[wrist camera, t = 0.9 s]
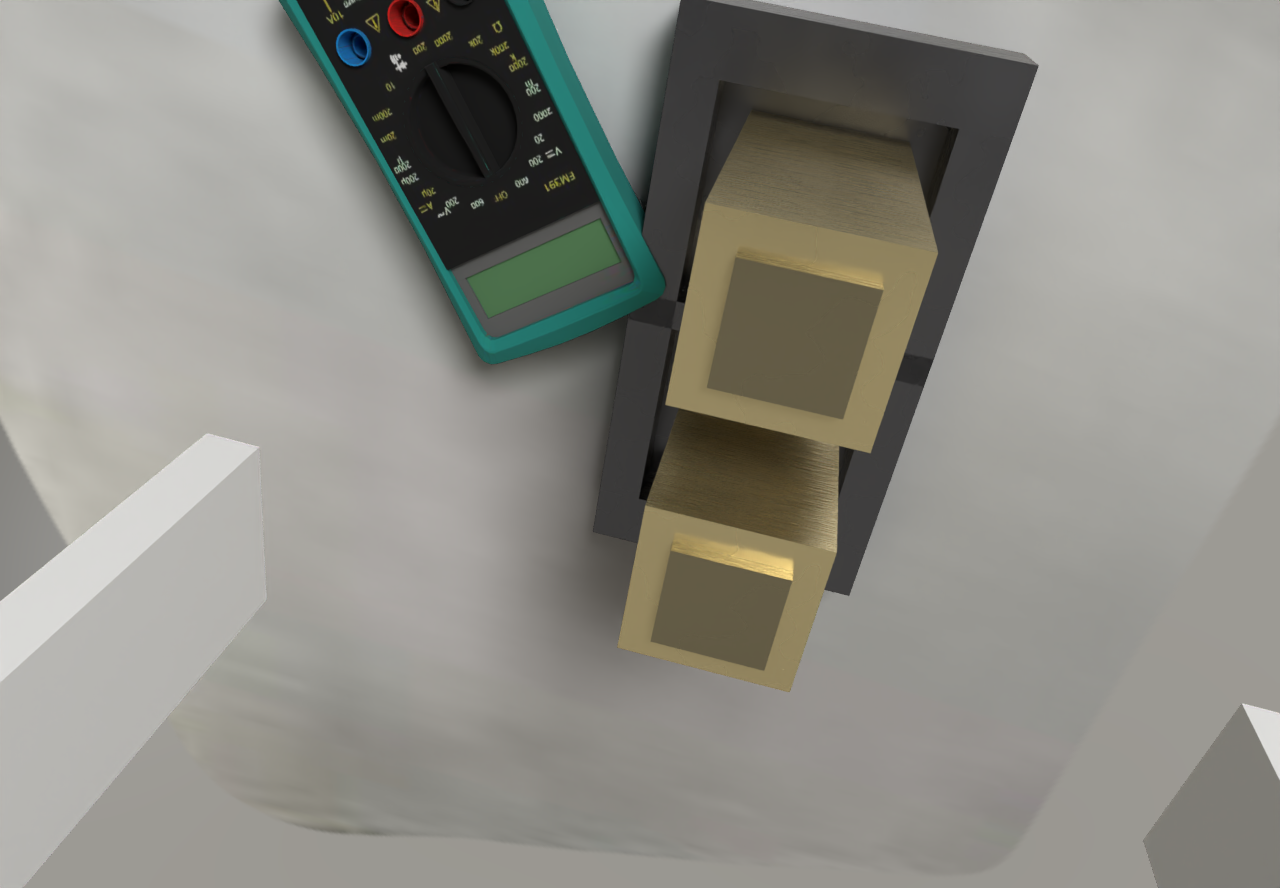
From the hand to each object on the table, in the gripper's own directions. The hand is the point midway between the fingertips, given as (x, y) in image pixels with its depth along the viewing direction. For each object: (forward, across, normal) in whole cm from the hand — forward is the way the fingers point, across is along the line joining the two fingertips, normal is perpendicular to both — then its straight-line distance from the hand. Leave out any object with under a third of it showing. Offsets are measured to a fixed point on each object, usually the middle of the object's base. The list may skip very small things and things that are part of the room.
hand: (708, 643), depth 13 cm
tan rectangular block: (+21, 0, 0) cm, 21 cm away
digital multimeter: (+22, -10, +1) cm, 24 cm away
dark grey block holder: (+22, +1, -4) cm, 22 cm away
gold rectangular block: (+21, +1, -8) cm, 22 cm away
